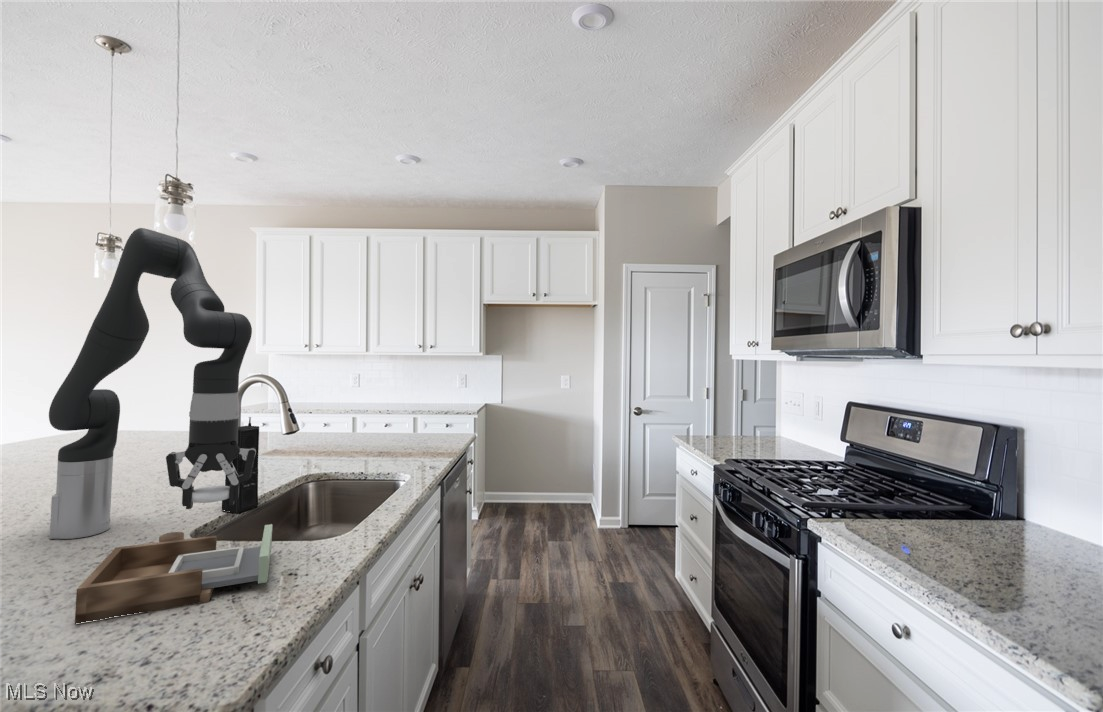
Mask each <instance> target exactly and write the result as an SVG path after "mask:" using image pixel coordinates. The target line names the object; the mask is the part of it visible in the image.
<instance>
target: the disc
mask: <svg viewBox="0 0 1103 712" xmlns="http://www.w3.org/2000/svg"><path fill="white" fill-rule="evenodd" d="M229 494H230V487H229V486H225V485H208V486H207V485H206V486H202V487H197V488H194V490H193V491H192V499H191V501H192V502H193V503H197V504H205V503H207V504H210V503H215V502H217V503H218V502H222V500H225V499H228V498H229Z"/></svg>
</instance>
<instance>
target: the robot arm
mask: <svg viewBox="0 0 1103 712" xmlns="http://www.w3.org/2000/svg"><path fill="white" fill-rule="evenodd" d="M144 273H146V274H150V275H153V276H158V277H163V278H168V279H174V282H173V283H172V284H171V288H170V297H171V301H172V302H173V304H174V305H175V307H176V308H177V310H178V312H180V315H181V317H182V321H183V336H184V339H185V341H186V342H187V343H189V344H190V345H192V346H194V347H197V348H203V349H223V351H222V352H221V355H219V356H218V357H217V358H215V359H212V360H211V359H210V360H206V361H205V360H204V361H200V362H198V363H196V364H195V365H194V368H193V377H192V378H193V380H192V396H191V400H190V406H189V407H190V408H189V409H190V410H189V412H188V413H189V414H188V416H189V426H188V427H189V430H188V445H187V448H186V449H185V450H183V451H179V452H176V451H172V452H169V453H168V454H167V455H166V456H165V460H166V461H165V462H166V468H167V475H168V484H169V486H170V487H172V488H174V487H177V488H180V489H181V490H182V494H181V495H182V498H181V504H182V506H183V507H185V509H186V510H192V508H193V506H194V502H192V501H191V499H192V491H193V490H195V486H193V483H194V482H195V480H196V478H197V477H198V475H199V473H200V472H201V473H205V472H206V473H207V472H210V471H215V472H222V471H223V472H224V475H225V474H226V476H227V477H228V479H229V480H230V482H231V485H230V494H229V505H234V502H235V501H237V500H238V498H239V484H240V483H241V482H244V481H248V480H249V479H250V476H251V472H252V468H253V463H254V458H255V454H256V449H255V448H251V449H242V448H240V447H239V445H238V427H239V421H240V420H239V418H240V417H239V415H240V400H239V399H240V398H239V384H240V383H239V382H240V381H239V379H240V370H241V367H242V364H243V360H244V357H245V354H246V352H247V349H248V347H249V344H250V342H251V339H252V334H253V328H252V324H251V322H250V320H249V319H248V317H247V316H246V315H244V314H241V313H237V312H229V311H228V312H227V311H225V305H224V303H223V301H222V299H221V298H220V297H219V296H218V294H217V293H216V292H215V291H214V289H213V288H212V287H211V285H209V283H208V281H207V279H206V276H205V274H204V272H203V269H202V266H201V263H200V260H199V258H198V256H197V254H196V251H195V250H194V248H193V247H192V245H191V244H190V243H188V242H187V241H186V240H184V239H181V238H179V237H176V236H172V235H168V234H165V233H162V232H159V231H155V230H152V229H149V228H145V227H144V228H143V227H138V228H136V229H134V230H133V231H132V233H131V234H130V235H128V239H127V240H126V242H125V244H124V247H123V249H122V253H121V255H120V258H119V262H118V264H117V267H116V270H115V272H114V276H113V279H112V282H111V284H110V287H109V289H108V291H107V293H106V296H105V298H104V300H103V301H102V304H101V306H100V308H99V309H98V312H97V314H96V316H95V318H94V319H93V321H92V324H91V326H90V329H89V330H88V332H87V335H86V337H85V340H84V342H83V346H82V347H81V349H80V351H79V353H78V355H77V358H76V359H75V362H74V363H73V366H72V367H71V369H70V371H69V372H68V374H67V375H66V377H65V379H64V380H63V381H62V383H61V385H60V387H59V388H58V389H57V391H56V393H55V395H54V396H53V399H52V401H51V403H50V406H49V411H48V420H49V423H50V425H51V427H53V428H54V429H56V430H58V431H63V432H68V431H69V432H73V431H82V430H87V432H86V434H85V435H84V436H82V437H80V438H79V439H77V440H76V441H73V442H71V443H68V444H66V445H64V446H63V445H62V447H60V448H59V450H58V453H57V465H56V466H57V469H56V489H55V494H54V495H52V496H51V502H50V520H49V521H50V523H49V524H50V525H49V538H48V539H49V540H52V539H54V540H55V539H57V540H70V539H71V540H72V539H79V538H86V537H91V536H95V535H98V534H101V533H104V532H106V531H108V530H109V529H110V527H111V525H110V523H111V508H112V507H111V506H112V490H113V489H112V487H113V467H114V451H115V449H116V445H117V440H118V433H119V431H118V430H119V423H120V415H121V404H120V403H121V402H120V399H119V396H118V393H116V392H115V391H114V390H111V389H106V388H105V389H104V388H102V389H97V388H96V386H98V385H99V383H101V382H102V380H104V379H105V378H107V377H108V376H109V375H110V374H113V373H114V372H115V371H117V370H118V369H120V368H122V367H123V366H124V365H126V364H127V363H128V362H130V361H131V360H132V359H134V358H135V356H137V354H138V353H139V352H140V351H141V348H142V346H143V343H144V342H145V340H146V338H147V336H148V334H149V331H150V322H149V319H148V316H147V312H146V311H145V308H144V305H143V304H142V300H141V298H140V294H139V281H140V279H141V277H142V275H143V274H144ZM95 388H96V389H95ZM238 454H241V455H242V459H243V460H246V464H245V469H244V473H243V474H242V475H239V476H238V474H237V472H236V470H235V467H234V465H233V463H232V461H233V460H234V459H235V458H236V457H237V455H238ZM184 458H186V459H187V460H188V462H189V463H190V464H191V465H193V466H192V468H191V470H190V472H189V473H188V475H186V476H187V477H186V478H181V472H180V464H181V463H182V462H183V459H184Z"/></svg>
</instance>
